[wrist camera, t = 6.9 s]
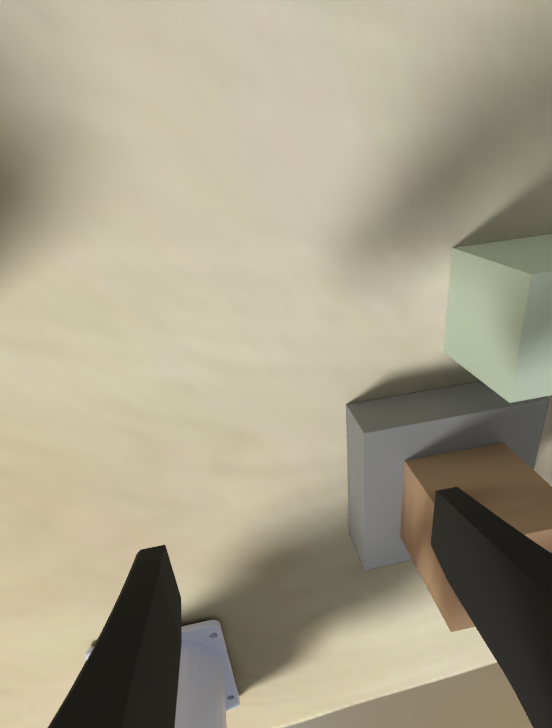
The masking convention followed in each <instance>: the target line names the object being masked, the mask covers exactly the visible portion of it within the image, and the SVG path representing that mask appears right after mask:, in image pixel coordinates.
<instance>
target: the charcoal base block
mask: <svg viewBox="0 0 552 728" xmlns="http://www.w3.org/2000/svg"><path fill="white" fill-rule="evenodd" d="M548 403H549V399H548V398H546V397H539V398H534V399H528V400H523V401H518V402H512V403H509V402H508V401H506V400H505V399H504V398H502V397H501V396H500V395H499V394H497V393H496V392H495V391H493V390H492V389H491V388H489V387H488V386H487V385H486V384H484V383H483V382H482V381H478V382H472V383H466V384H461V385H455V386H449V387H443V388H438V389H432V390H426V391H420V392H414V393H409V394H403V395H397V396H391V397H385V398H380V399H374V400H368V401H362V402H357V403H351V404H346V424H347V465H348V507H349V535H350V537H351V539H352V542H353V544H354V547H355V549H356V552H357V554H358V556H359V559H360V561H361V564H362V566H363V569H364V571H365V570H370V569H374V568H379V567H383V566H388V565H392V564H397V563H401V562H406V561H411V560H412V558H411V556H410V554H409V553H408V551H407V549H406V547H405V545H404V543H403V541H402V540H401V538H400V530H401V512H402V495H403V478H404V461H405V460H411V459H416V458H422V457H427V456H433V455H438V454H444V453H449V452H455V451H460V450H466V449H471V448H477V447H482V446H488V445H493V444H499V443H504V444H505V445H506V446H508V447H509V448H510V449H511V450H512V451H513V452H514V453H515V454H516V455H517V456H518V457H520V458H521V459H522V460H523V461H524V462H525V463H526V464H527V465H528V466H529V467H530V468H532V469H534V465H535V460H536V456H537V451H538V447H539V442H540V438H541V434H542V429H543V425H544V420H545V416H546V411H547V407H548Z"/></svg>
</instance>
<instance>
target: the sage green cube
mask: <svg viewBox="0 0 552 728" xmlns="http://www.w3.org/2000/svg"><path fill="white" fill-rule="evenodd" d="M443 352H444V353H445V354H447V355H448V356H449V357H451V358H452V359H453V360H454V361H456V362H457V363H458V364H460V365H461V366H462V367H464V368H465V369H466V370H467V371H469V372H470V373H471V374H473V375H474V376H475V377H477V378H478V379H479V380H480V381H482V382H483V383H484V384H486V385H487V386H488V387H489V388H491V389H492V390H493V391H495V392H496V393H497V394H499V395H500V396H501V397H502V398H504V399H505V400H506V401H508V402H509V403H512V402H518V401H523V400H528V399H534V398H539V397H545V396H550V395H552V234H546V235H539V236H532V237H525V238H518V239H511V240H504V241H497V242H490V243H483V244H476V245H469V246H462V247H455V248H452V253H451V265H450V277H449V289H448V301H447V313H446V325H445V337H444V348H443Z"/></svg>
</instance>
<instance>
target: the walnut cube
mask: <svg viewBox="0 0 552 728" xmlns="http://www.w3.org/2000/svg"><path fill="white" fill-rule="evenodd" d="M452 487H458V488H460V489H461V490H463V491H464V492H465V493H467V494H468V495H470V496H471V497H472V498H474V499H475V500H476V501H478V502H479V503H481V504H482V505H483V506H485V507H486V508H487V509H489V510H490V511H492V512H493V513H494V514H496V515H497V516H499V517H500V518H501V519H503V520H504V521H505V522H507V523H508V524H510V525H511V526H512V527H514V528H515V529H517V530H518V531H520V532H521V533H522V534H524V535H525V536H527V537H528V538H530V539H531V540H533V541H534V542H536V543H537V544H538V545H540V546H541V547H543V548H544V549H546V550H547V551H549V552H551V553H552V487H551V486H550V485H549V484H548V483H547V482H546V481H545V480H543V479H542V478H541V477H540V476H539V475H538V474H537V473H536V472H535V471H534V470H533V469H532V468H530V467H529V466H528V465H527V464H526V463H525V462H524V461H523V460H522V459H521V458H520V457H518V456H517V455H516V454H515V453H514V452H513V451H512V450H511V449H510V448H509V447H508V446H506V445H505V444H504V443H499V444H493V445H488V446H482V447H477V448H471V449H466V450H460V451H455V452H449V453H444V454H438V455H433V456H427V457H422V458H416V459H411V460H405V461H404V478H403V495H402V512H401V530H400V538H401V540H402V541H403V543H404V545H405V547H406V549H407V551H408V553H409V554H410V556H411V558H412V560H413V562H414V564H415V566H416V568H417V569H418V571H419V573H420V575H421V577H422V579H423V581H424V582H425V584H426V586H427V588H428V590H429V592H430V594H431V596H432V597H433V599H434V601H435V603H436V605H437V607H438V609H439V610H440V612H441V614H442V616H443V618H444V620H445V622H446V624H447V625H448V627H449V629H450V631H451V632H453V631H457V630H462V629H466V628H470V627H475V625H474V623H473V622H472V620H471V619H470V617H469V615H468V614H467V612H466V611H465V609H464V607H463V606H462V604H461V602H460V601H459V599H458V597H457V596H456V594H455V593H454V591H453V589H452V588H451V586H450V584H449V583H448V581H447V579H446V576H445V574H444V572H443V570H442V568H441V566H440V564H439V562H438V560H437V558H436V555H435V553H434V551H433V549H432V547H431V534H432V524H433V514H434V504H435V493H436V491H437V490H442V489H447V488H452Z"/></svg>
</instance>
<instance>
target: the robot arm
mask: <svg viewBox="0 0 552 728" xmlns="http://www.w3.org/2000/svg"><path fill="white" fill-rule="evenodd" d="M431 547H432V549H433V551H434V553H435V555H436V558H437V560H438V562H439V564H440V566H441V568H442V570H443V572H444V574H445V576H446V579H447V581H448V583H449V584H450V586H451V588H452V589H453V591H454V593H455V594H456V596H457V597H458V599H459V601H460V602H461V604H462V606H463V607H464V609H465V611H466V612H467V614H468V615H469V617H470V619H471V620H472V622H473V623H474V625H475V627H476V628H477V630H478V631H479V633H480V635H481V636H482V638H483V640H484V641H485V643H486V644H487V646H488V648H489V649H490V651H491V652H492V654H493V656H494V657H495V659H496V660H497V662H498V664H499V665H500V667H501V668H502V670H503V672H504V674H505V675H506V677H507V679H508V680H509V682H510V684H511V686H512V687H513V689H514V691H515V693H516V695H517V697H518V699H519V701H520V703H521V705H522V706H523V708H524V710H525V712H526V714H527V716H528V718H529V720H530V722H531V724H532V726H533V727H534V728H552V553H551V552H549V551H547V550H546V549H544V548H543V547H541V546H540V545H538V544H537V543H536V542H534V541H533V540H531V539H530V538H528V537H527V536H525V535H524V534H522V533H521V532H520V531H518V530H517V529H515V528H514V527H512V526H511V525H510V524H508V523H507V522H505V521H504V520H503V519H501V518H500V517H499V516H497V515H496V514H494V513H493V512H492V511H490V510H489V509H487V508H486V507H485V506H483V505H482V504H481V503H479V502H478V501H476V500H475V499H474V498H472V497H471V496H470V495H468V494H467V493H465V492H464V491H463V490H461V489H460V488H458V487H452V488H447V489H442V490H437V491H436V493H435V504H434V514H433V524H432V534H431ZM85 659H86V662H85V664H84V666H83V668H82V670H81V672H80V673H79V675H78V677H77V679H76V681H75V682H74V684H73V686H72V688H71V690H70V691H69V693H68V695H67V697H66V698H65V700H64V702H63V703H62V705H61V707H60V708H59V710H58V712H57V713H56V715H55V717H54V718H53V720H52V722H51V723H50V725H49V726H48V728H227V725H226V711H227V710H231V709H234V708H237V707H238V706H239V705H240V699H239V694H238V690H237V687H236V683H235V679H234V675H233V671H232V667H231V663H230V659H229V656H228V652H227V648H226V644H225V640H224V636H223V632H222V628H221V625H220V622H219V621H217V620H208V621H204V622H199V623H195V624H191V625H186V626H182V625H181V596H180V593H179V590H178V586H177V583H176V580H175V576H174V573H173V570H172V566H171V563H170V560H169V556H168V553H167V550H166V546H165V545H162V546H157V547H152V548H147V549H142V550H140V551H139V552H138V553H137V555H136V558H135V560H134V563H133V565H132V567H131V570H130V572H129V575H128V577H127V579H126V581H125V584H124V586H123V588H122V590H121V593H120V595H119V597H118V599H117V601H116V603H115V606H114V608H113V610H112V612H111V614H110V616H109V618H108V620H107V622H106V624H105V626H104V628H103V630H102V632H101V634H100V636H99V638H98V640H97V642H96V644H95V646H93V647H91V648H89V649H88V650H87V652H86V656H85Z"/></svg>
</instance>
